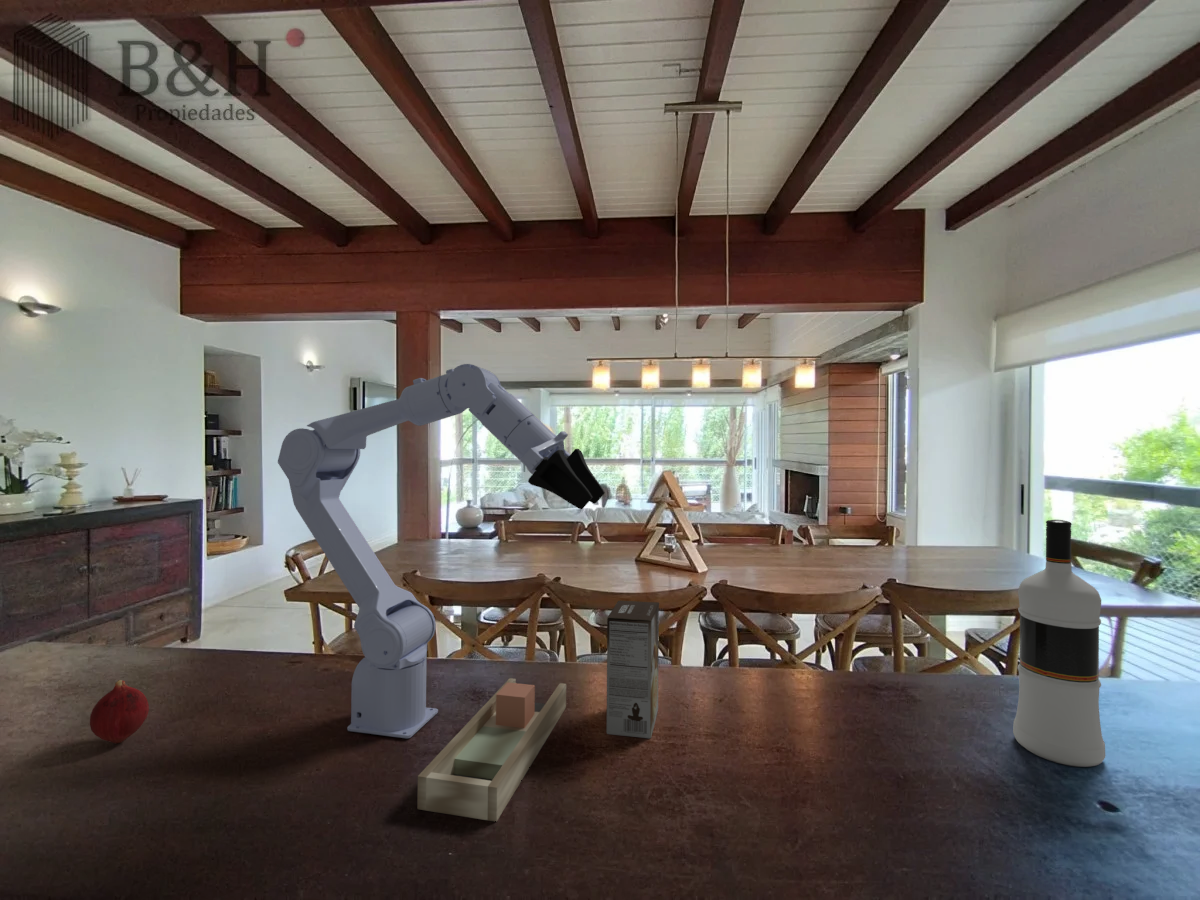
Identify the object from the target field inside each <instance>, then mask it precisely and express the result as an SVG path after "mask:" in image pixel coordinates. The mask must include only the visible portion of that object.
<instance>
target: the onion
mask: <svg viewBox="0 0 1200 900" xmlns="http://www.w3.org/2000/svg"><path fill="white" fill-rule="evenodd" d="M149 711H150V705H149V702H148V699H147V697H146V695H145V694H144V693H143V692H142V691H141V690H139V689H138V688H135V687H131V686H130V685H129V686H128V684H126V681H125V680H123V679H118V680H117V681H116V682H115V684H114V687H113V689H111V690H110V691H109V692H107V693H106V694H104V695H103V696H102V697H101V698H100V699H99V700H98V701H97V702H96V704H95V705H94V706H93V708H92V711H91V713H90V716H89V726H90V731H91V732H92V733H93V734H94V735H95V736H96V737H98V738H99V739H100V740H103V741H104V742H105V741H106V742H109V743H113V744H116V745H117V744H121V743H123V742H124V741H126V740H127V739H128V738H130V737H131V736H132V735H133V734H135V733H136V732H137V731H138V730H139V729H140V728H141V727H142V726H143V724H144V723H145V721H146V719H147V718H148V715H149Z"/></svg>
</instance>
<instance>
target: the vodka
mask: <svg viewBox="0 0 1200 900" xmlns="http://www.w3.org/2000/svg"><path fill="white" fill-rule="evenodd" d="M1045 526H1046V527H1045V536H1046V537H1045V569H1043V570H1041V571H1038V572H1036V573H1034V574H1032V575H1030V576H1028V577H1026V578H1024V579H1023V580H1022V581H1021V582H1020V583H1019V587H1018V589H1017V595H1018V605H1019V607H1018V608H1017V610H1018V613H1019V664H1018V665H1017V671H1018V680H1019V683H1018V685H1019V686H1018V702H1017V708H1016V714H1015V718H1014V719H1013V722H1012V723H1013V725H1012V726H1013V727H1012V733H1013V735H1014V738H1015V740H1016V742H1018V744H1020V745H1021V747H1022V748H1024V749H1026V750H1027V751H1029V752H1030V753H1032V754H1033V755H1035V756H1038V757H1039V758H1042V759H1045V760H1047V761H1050V762H1053V763H1057V764H1059V765H1064V766H1068V767H1077V768H1090V767H1096V766H1099V765H1101V764H1102V763H1103V761H1104V760H1105V759H1106V743H1105V740H1104V738H1103V735H1102V734H1103V733H1102V727H1101V726H1102V725H1101V719H1100V718H1101V717H1100V706H1099V705H1100V702H1099V701H1100V688H1101V687H1102V682H1101V680H1100V679H1099V678H1100V677H1099V676H1100V675H1099V672H1100V670H1099V669H1100V667H1099V666H1100V665H1099V663H1100V661H1099V659H1100V658H1099V657H1100V651H1099V649H1100V644H1099V643H1100V625H1101V623H1102V619H1101V618H1100V617H1101V610H1102V598H1101V596H1100V593H1099V591H1098V590H1097V588H1096V587H1094V586H1093V585H1092V584H1090V583H1088V582H1087V581H1086V580H1084V579H1083V578H1081V577H1080V576H1078V575H1077V574H1075V573H1074V572H1073V569H1072V526H1073V525H1072V522H1070V521H1067V520H1064V519H1049V520H1046V521H1045Z"/></svg>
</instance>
